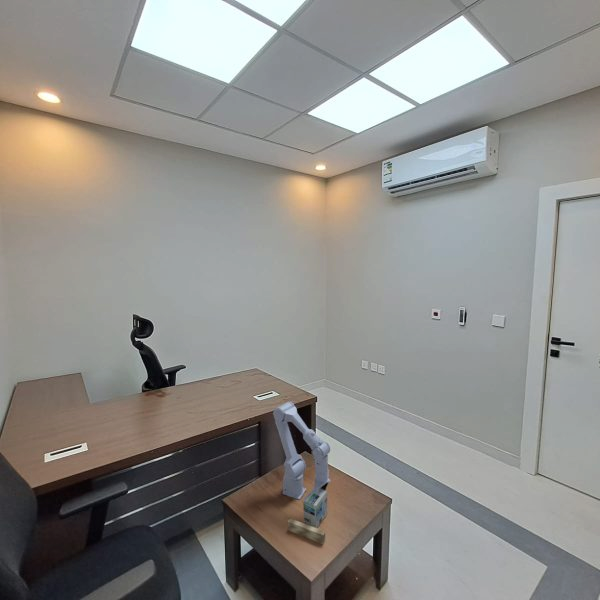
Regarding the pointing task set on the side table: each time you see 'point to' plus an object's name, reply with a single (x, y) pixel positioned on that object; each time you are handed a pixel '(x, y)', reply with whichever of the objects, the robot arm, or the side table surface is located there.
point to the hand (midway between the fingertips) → (321, 496)
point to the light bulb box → (315, 507)
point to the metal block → (306, 531)
